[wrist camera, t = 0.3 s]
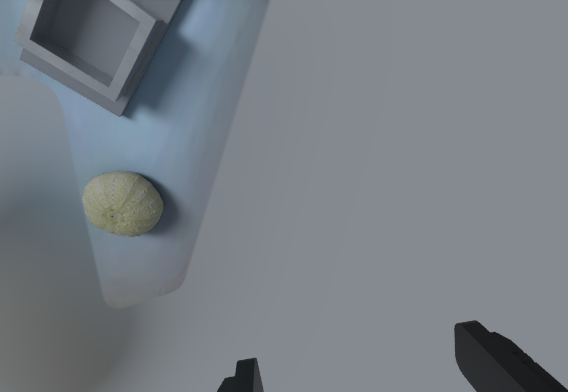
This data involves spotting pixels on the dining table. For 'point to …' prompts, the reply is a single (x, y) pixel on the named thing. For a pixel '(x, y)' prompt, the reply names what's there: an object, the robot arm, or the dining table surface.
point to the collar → (35, 39)
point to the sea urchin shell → (122, 203)
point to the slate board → (101, 42)
